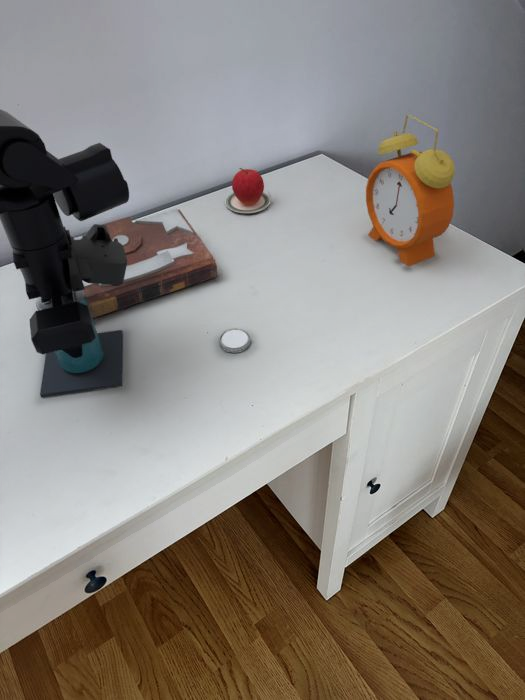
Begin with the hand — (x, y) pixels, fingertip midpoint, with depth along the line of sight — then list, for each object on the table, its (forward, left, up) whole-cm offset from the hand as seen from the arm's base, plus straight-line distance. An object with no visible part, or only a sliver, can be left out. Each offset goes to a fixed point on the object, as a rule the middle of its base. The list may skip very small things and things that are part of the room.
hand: (75, 341), depth 71 cm
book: (+6, +18, -4) cm, 19 cm away
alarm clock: (+49, +17, -4) cm, 52 cm away
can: (0, 0, -3) cm, 3 cm away
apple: (+27, +35, -4) cm, 45 cm away
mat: (0, 0, -4) cm, 4 cm away
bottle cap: (+20, 0, -4) cm, 21 cm away
